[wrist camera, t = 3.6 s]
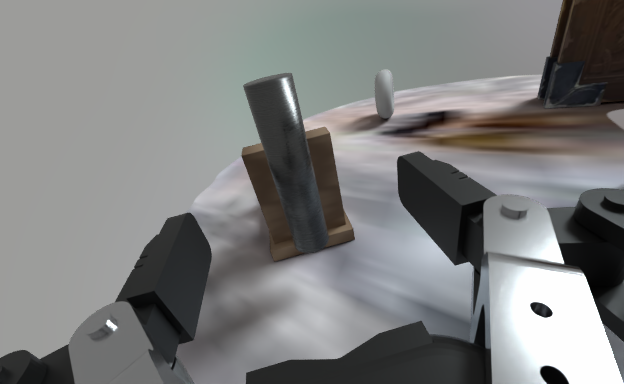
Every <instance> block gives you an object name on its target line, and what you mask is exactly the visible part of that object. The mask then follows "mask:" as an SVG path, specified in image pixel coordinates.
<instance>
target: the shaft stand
mask: <svg viewBox="0 0 624 384" xmlns="http://www.w3.org/2000/svg"><path fill="white" fill-rule="evenodd" d="M305 134H306V138H307V142H308V147H309V151H310V156H311V160H312V165H313V169H314V173H315V178H316V182H317V187H318V191H319V195H320V200H321V204H322V209H323V213H324V218H325V222H326V226H327V231H328V235H329V241H328V243H327V245H326V246H325V247H329V246H333V245H336V244H340V243H343V242H347V241H351V240H354V239H355V237H354V231H353V228H352V225H351V223H350V221H349V219H348V217H347V215H346V213H345V211H344V209H343V205H342V199H341V193H340V188H339V182H338V176H337V171H336V165H335V159H334V153H333V148H332V142H331V136H330V132H329V131H328V130H327V128H326V127H322V128H318V129H314V130H310V131H306V132H305ZM242 159H243V161H244V164H245V167H246V169H247V172H248V174H249V177H250V180H251V182H252V185H253V188H254V190H255V193H256V196H257V198H258V201H259V204H260V206H261V209H262V212H263V214H264V217H265V220H266V222H267V225H268V228H269V233H270V252H271V254H272V257H273V259H274V262H275V261H278V260H282V259H286V258H289V257H293V256H296V255H300V254H304V253H303V252H300V251H298V250H297V249H296V247H295V245H294V242H293V239H292V236H291V232H290V229H289V226H288V223H287V220H286V217H285V214H284V211H283V208H282V205H281V202H280V198H279V195H278V192H277V189H276V186H275V183H274V180H273V177H272V174H271V171H270V168H269V164H268V161H267V158H266V155H265V152H264V149H263V146H262V143H260V144H256V145H252V146H248V147H244V148H243V150H242ZM325 247H324V248H325Z"/></svg>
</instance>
